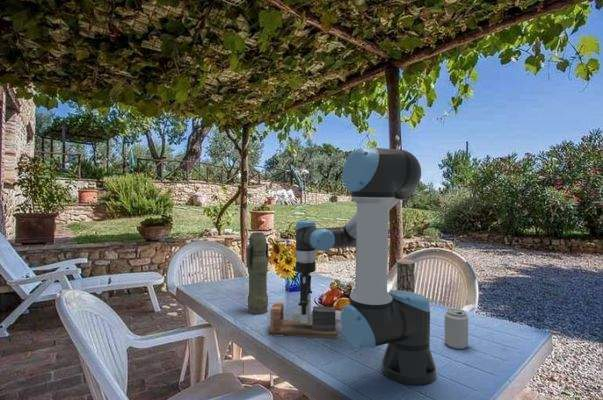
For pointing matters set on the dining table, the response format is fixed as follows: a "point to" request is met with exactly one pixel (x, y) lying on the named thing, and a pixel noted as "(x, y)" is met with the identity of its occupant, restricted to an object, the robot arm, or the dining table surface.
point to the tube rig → (319, 327)
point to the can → (456, 328)
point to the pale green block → (297, 315)
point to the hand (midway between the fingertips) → (305, 316)
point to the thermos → (257, 273)
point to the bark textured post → (405, 275)
